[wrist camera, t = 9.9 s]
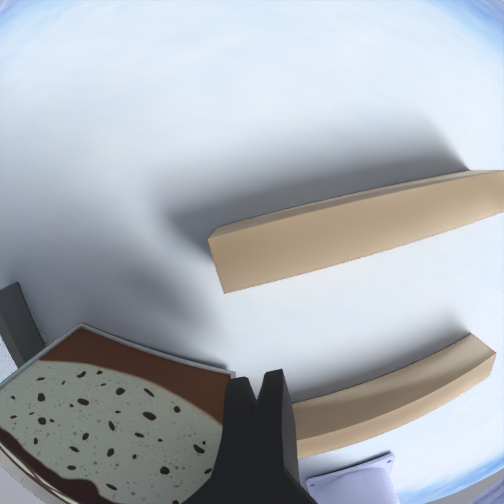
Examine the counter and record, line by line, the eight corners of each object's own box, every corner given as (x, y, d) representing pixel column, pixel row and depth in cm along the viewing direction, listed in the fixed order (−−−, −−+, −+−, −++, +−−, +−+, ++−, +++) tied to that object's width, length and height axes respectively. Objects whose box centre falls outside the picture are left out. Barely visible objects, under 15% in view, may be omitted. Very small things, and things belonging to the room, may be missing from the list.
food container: (74, 383, 15) (7, 476, 5) (62, 313, 13) (-46, 411, 3) (239, 438, 15) (225, 569, 5) (263, 377, 13) (256, 561, 4)
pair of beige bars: (467, 354, 14) (489, 375, 11) (280, 426, 15) (284, 461, 12) (470, 170, 11) (505, 170, 8) (218, 226, 12) (207, 238, 9)
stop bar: (106, 438, 16) (96, 458, 13) (94, 436, 16) (83, 456, 13) (17, 281, 13) (-7, 294, 10) (8, 285, 13) (-15, 297, 10)
